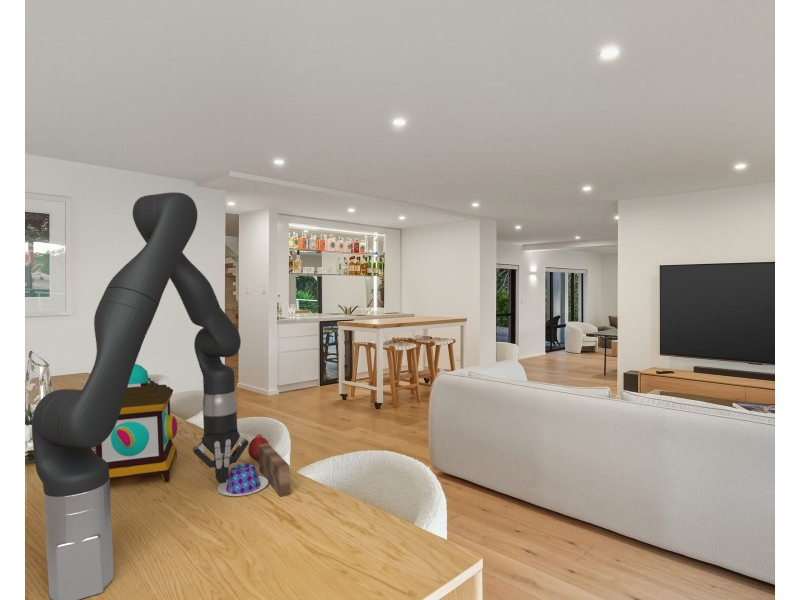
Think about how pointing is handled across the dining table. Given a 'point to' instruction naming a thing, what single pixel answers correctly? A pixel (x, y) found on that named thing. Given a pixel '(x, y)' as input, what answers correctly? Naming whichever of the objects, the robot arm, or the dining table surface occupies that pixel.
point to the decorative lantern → (141, 431)
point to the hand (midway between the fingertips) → (222, 481)
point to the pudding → (242, 481)
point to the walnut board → (274, 469)
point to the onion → (256, 446)
